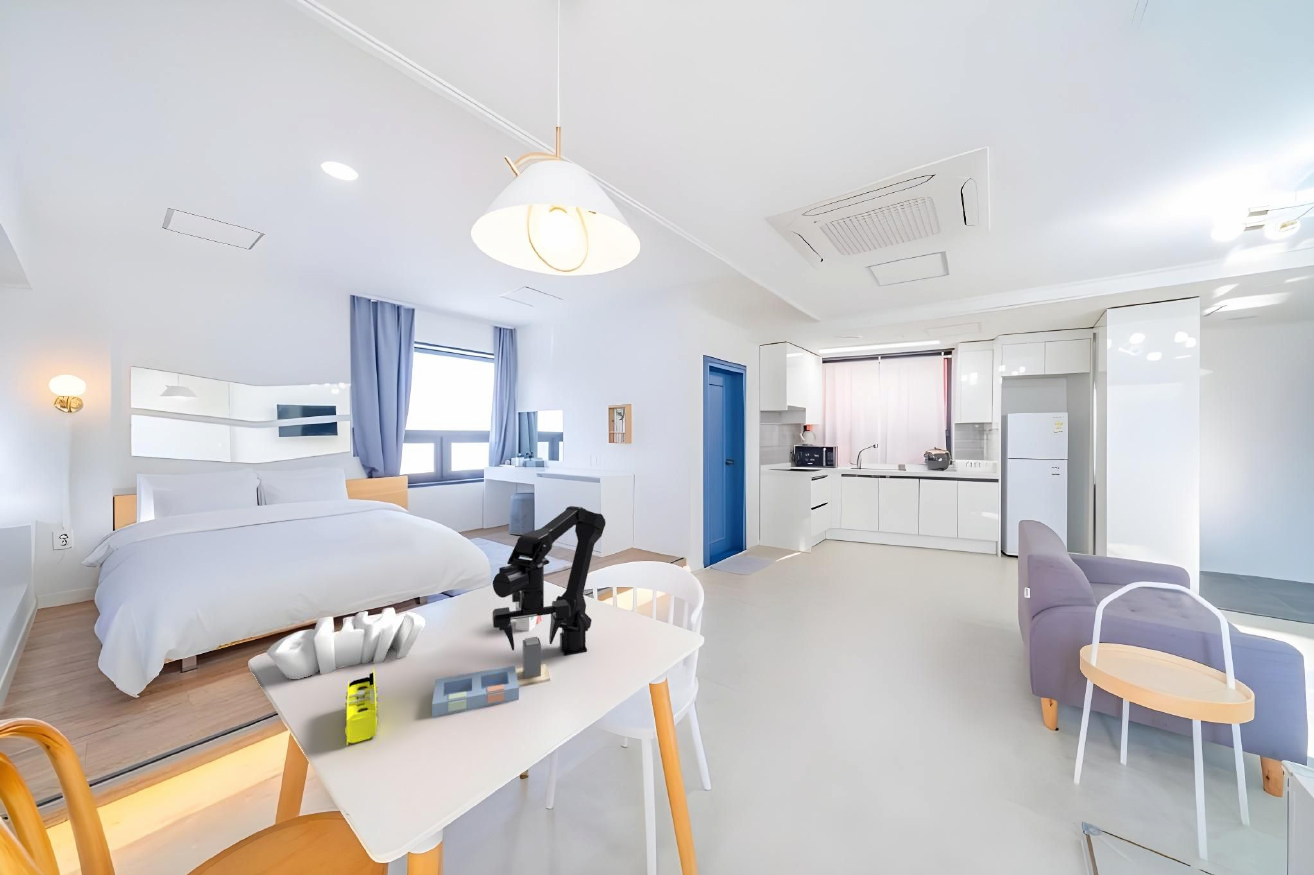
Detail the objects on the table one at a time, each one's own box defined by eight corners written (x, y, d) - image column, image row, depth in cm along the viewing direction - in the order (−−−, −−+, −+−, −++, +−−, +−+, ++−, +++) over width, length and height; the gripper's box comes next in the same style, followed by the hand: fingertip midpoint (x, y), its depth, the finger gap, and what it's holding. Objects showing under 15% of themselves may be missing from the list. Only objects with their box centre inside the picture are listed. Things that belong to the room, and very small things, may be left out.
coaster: (545, 666, 121) (545, 663, 121) (550, 681, 114) (550, 678, 114) (513, 672, 118) (513, 669, 118) (516, 688, 111) (516, 685, 111)
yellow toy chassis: (379, 739, 92) (379, 698, 92) (344, 750, 89) (344, 707, 89) (376, 701, 105) (376, 664, 105) (346, 709, 102) (346, 671, 102)
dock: (514, 677, 116) (514, 664, 116) (519, 701, 105) (519, 686, 105) (435, 692, 109) (435, 678, 109) (431, 718, 99) (432, 703, 99)
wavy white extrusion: (425, 636, 140) (425, 601, 140) (424, 659, 125) (425, 621, 125) (281, 660, 124) (281, 621, 124) (260, 690, 110) (260, 646, 110)
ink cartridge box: (527, 620, 152) (527, 575, 152) (541, 621, 151) (541, 576, 151) (514, 630, 144) (514, 583, 144) (529, 632, 143) (529, 584, 143)
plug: (538, 668, 119) (538, 635, 119) (540, 676, 115) (540, 641, 115) (522, 671, 117) (522, 638, 117) (524, 679, 113) (524, 644, 113)
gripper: (563, 572, 127) (563, 628, 127) (491, 580, 120) (491, 639, 120) (571, 584, 117) (571, 645, 117) (493, 593, 110) (493, 659, 110)
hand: (532, 646), depth 116 cm, fingers open, 9 cm apart
